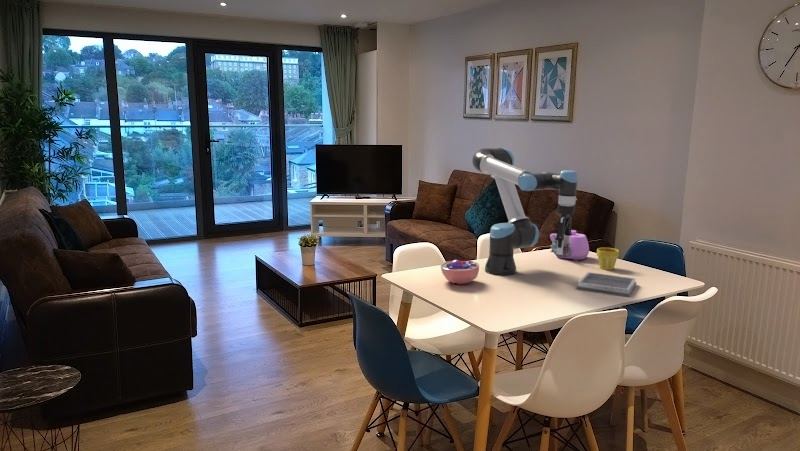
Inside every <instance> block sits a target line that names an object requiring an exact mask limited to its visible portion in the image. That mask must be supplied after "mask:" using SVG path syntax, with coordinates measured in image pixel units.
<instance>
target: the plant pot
mask: <svg viewBox="0 0 800 451" xmlns="http://www.w3.org/2000/svg"><path fill="white" fill-rule="evenodd" d="M619 254H620V251H619V249H617V248H612V247H598V248H597V249H596V256H597V258H598V265H599V269H600V270H604V271H613V270H614V268H615V265H616V262H617V259H618V258H619Z"/></svg>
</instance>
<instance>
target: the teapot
mask: <svg viewBox="0 0 800 451" xmlns="http://www.w3.org/2000/svg"><path fill="white" fill-rule="evenodd" d="M571 234H572V236H570V241H569V243H570V246H571V251H572V254H571V256H570V257H560V259H563V260H565V259H568V260H573V261H579V260H584V259H586V258H587V257H588V256H589V254H590V247H589V246H590V245H589V242H588V238H587V235H585V234H584V233H577V230H575V229H571ZM554 236H557V233H551V234H549V238H550V240H551V242H552V241H553V238H554Z"/></svg>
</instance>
